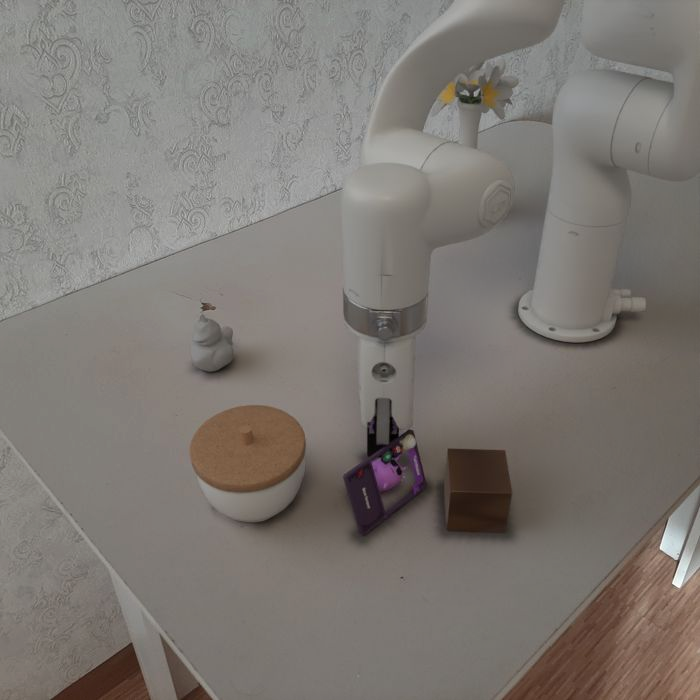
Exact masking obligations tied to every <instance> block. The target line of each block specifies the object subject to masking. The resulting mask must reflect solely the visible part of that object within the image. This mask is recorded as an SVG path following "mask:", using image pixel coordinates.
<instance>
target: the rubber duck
mask: <svg viewBox="0 0 700 700" xmlns="http://www.w3.org/2000/svg"><path fill="white" fill-rule="evenodd" d="M233 334H234V330H233V329H232V327H230V326H222V327H221V325H220V324H219V323H218V322H217V321H215V320H214V319H212V318H207V317H206V316H205V315H204V314H203V313H201V314H200V315H199V316H198V319H197V321H196V323H195V324H194V327H193V330H192V339H193V340H192V341H191V342H190V347H189V348H190V349H189V354H190V362H191V365H192V367H194V368H197V369H199V370H202V371H205V372H216V371H219V370H220V369H221V368H224V367H225V366H226V365H228V364H229V363H230V362H232V361H233V359H234V348H233V337H234V336H233Z"/></svg>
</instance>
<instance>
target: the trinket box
mask: <svg viewBox="0 0 700 700" xmlns="http://www.w3.org/2000/svg"><path fill="white" fill-rule="evenodd" d="M306 441H307V439H306V433H305V431H304V428H303V426H302V425H301V424H300V422H299V421H298V420H297V419H296V418H295V417H294V416H292V415H291V414H290V413H288V412H286V411H284V410H282V409H281V408H277V407H274V406H270V405H262V404H248V405H247V404H246V405H240V406H236V407H231V408H229V409H226V410H223V411H221V412H218V413H217V414H215V415H213V416H212V417H210V418H208V419H207V420H206V421H204V422H203V424H201V425H200V427H198V428H197V430H196V431H195V433H194V434H193V437H192V439H191V441H190V445H189V458H190V463H191V466H192V468H193V471H194V475H195V478H196V482H197V485H198V487H199V489H200V492H201V493H202V495H203V496H204V498H205V500H206V501H207V502H208V504H209V505H210V506H211V507H212V508H213V509H214V510H215V511H216V512H217V513H220V514H221V515H223V516H224V517H226V518H229V519H231V520H235V521H239V522H244V523H248V524H249V523H251V524H252V523H262V522H264V521H267V520H270V519H271V518H273V517H275V516H276V515H278V514H279V513H281V512H282V511H284V510H285V509H286V508H287V507H288V506H289V505H290V504H291V503H292V502H293V501H294V500H295V498H296V497H297V495H298V494H299V491H300V489H301V487H302V483H303V480H304V476H305V470H306V447H307V442H306Z"/></svg>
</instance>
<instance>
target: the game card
mask: <svg viewBox="0 0 700 700" xmlns="http://www.w3.org/2000/svg"><path fill="white" fill-rule="evenodd" d="M401 441H402V443H401ZM391 447H392V451H390V450H389V449H390V448H391ZM403 450H406V453H407V455H408V458H409V461H410V463H411V467H412V471H413V474H414V479H415V483H414V484H413V485H412V490H411V491H410V492H409V493H408V494H407V495H405V496H404V497H402V498H401V499H400V500H399V501H397V502H396V503H395V504H393V505H392V506H391V507H390V508H388V509H387V510H385V506H384V503H383V500H382V496H381V492H385V491H388V490H390V489H392V488H394V487H396V486H397V485H398V484H399V483H400V482H403V481H404V480H403V479H404V478H406V477H407V476H404V474H403V471H405V470H407V469H408V465H407V466H406V465H405V466H401V464H400V463H399V460H400V458H401V455H402V454H403ZM381 454H382V456H381V458H377V457H378V456H380V455H381ZM392 455H394V456H395V457H397V456H398V457H397V458H392ZM420 455H421V454H420V452H419V448H418V443H417V439H416V435H415V431H414V430H413V429H411V428H410V429H409V430H405V431H404V432H402V433H401V434H399V437H397V438H396V439H394V440H393V441H392V442H390V443H389V445H386V446H384V447H383V448H382V449H380V450H379V451H377V452H376V453H374V454H373V455H372V456H370V457H367V458H366V459H364V460H362V461H361V462H359V464H357V465H356V466H354V467H353V468H351V469H350V470H349V471H347V472H346V473H344V474H343V476H342V479H343V482H344V485H345V490H346V492H347V495H348V499H349V502H350V506H351V509H352V512H353V516H354V519H355V523H356V526H357V529H358V533H359V535H361V536H363V537H364V536H365V535H367V534H368V533H369V532H371V531H372V530H374V529H375V528H376V527H377V526H379V525H380V524H381V523H382V522H383V521H385V520H387V519H388V518H389V517H390V516H391V515H393V514H394V513H395V512H397V511H398V510H399V509H400V508H402V507H403V506H404V505H406V504H407V503H408V502H410V501H411V500H412V499H413V498H415V497H416V496H417V495H418V494H420V493H421V492H422V491H423V490H425V489H426V487H427V486H428V484H427V480H426V476H425V471H424V467H423V464H422V460H421V456H420Z"/></svg>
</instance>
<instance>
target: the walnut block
mask: <svg viewBox="0 0 700 700" xmlns="http://www.w3.org/2000/svg"><path fill="white" fill-rule="evenodd" d="M445 460H446V461H445V468H444V469H445V471H444V480H443V497H444V513H445V528H446V531H447V532H466V533H467V532H470V533H471V532H472V533H495V534H496V533H498V534H505V533H506V531H507V525H508V519H509V514H510V509H511V504H512V503H511V501H512V497H513V489H512V484H511V483H512V482H511V477H510V471H509V465H508V459H507V452H506V450H505V449H485V448H484V449H482V448H480V449H479V448H453V447H452V448H451V447H450V448H447V450H446V458H445Z"/></svg>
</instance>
